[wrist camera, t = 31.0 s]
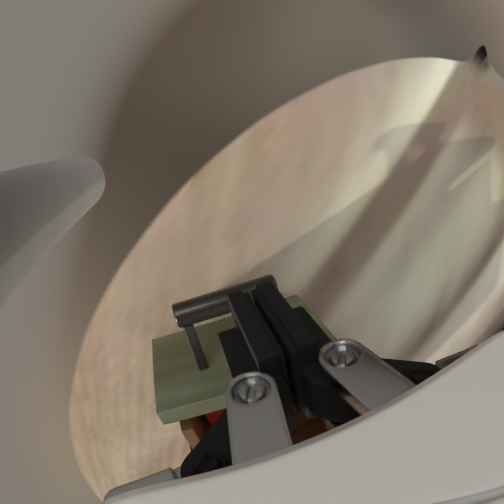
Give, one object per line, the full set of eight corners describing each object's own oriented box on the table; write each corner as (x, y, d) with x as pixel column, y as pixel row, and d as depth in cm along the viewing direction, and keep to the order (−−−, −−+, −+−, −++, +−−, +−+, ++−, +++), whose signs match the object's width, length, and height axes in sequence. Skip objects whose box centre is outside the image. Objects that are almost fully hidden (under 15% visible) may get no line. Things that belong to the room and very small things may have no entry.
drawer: (128, 284, 21) (119, 350, 14) (287, 237, 23) (343, 279, 16) (201, 437, 28) (218, 498, 21) (310, 400, 30) (344, 453, 23)
